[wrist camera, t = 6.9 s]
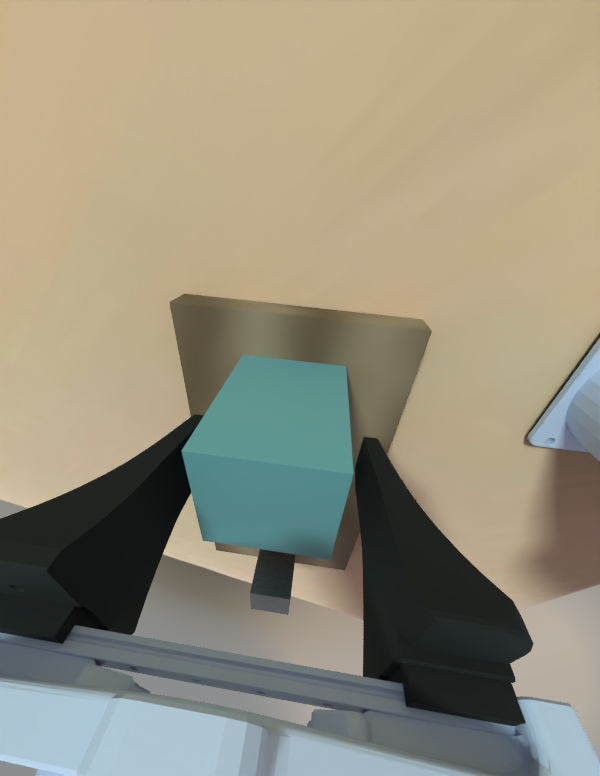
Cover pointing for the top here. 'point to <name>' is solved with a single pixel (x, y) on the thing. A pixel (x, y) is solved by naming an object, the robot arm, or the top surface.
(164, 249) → the top surface
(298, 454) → the teal block
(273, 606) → the graphite post
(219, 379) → the brown wooden board
